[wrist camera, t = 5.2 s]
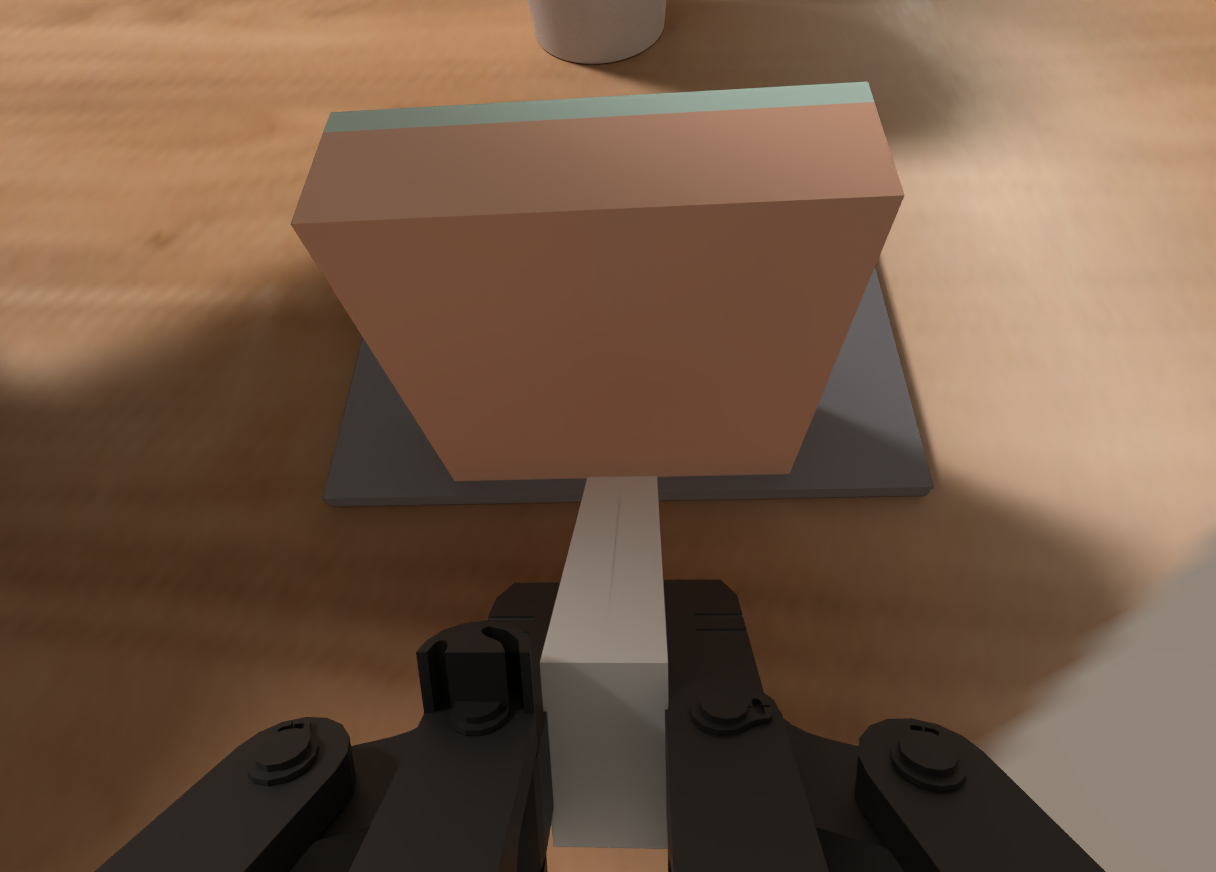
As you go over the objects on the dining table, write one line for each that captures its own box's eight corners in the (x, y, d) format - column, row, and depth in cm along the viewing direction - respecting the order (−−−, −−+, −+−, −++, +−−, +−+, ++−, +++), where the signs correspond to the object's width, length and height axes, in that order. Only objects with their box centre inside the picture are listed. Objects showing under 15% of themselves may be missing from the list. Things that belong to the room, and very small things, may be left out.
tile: (454, 481, 19) (290, 223, 11) (466, 397, 21) (330, 112, 12) (789, 474, 19) (904, 195, 10) (776, 388, 20) (867, 82, 12)
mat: (331, 506, 20) (322, 498, 19) (405, 197, 27) (400, 185, 26) (926, 495, 19) (934, 487, 18) (843, 176, 26) (847, 163, 25)
